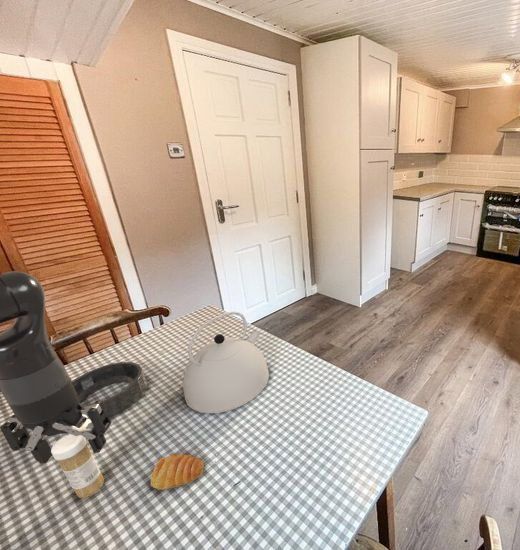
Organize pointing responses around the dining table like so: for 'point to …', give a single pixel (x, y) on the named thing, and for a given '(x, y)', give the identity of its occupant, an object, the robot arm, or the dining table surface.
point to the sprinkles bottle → (78, 465)
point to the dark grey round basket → (110, 376)
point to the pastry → (176, 471)
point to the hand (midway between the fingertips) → (74, 453)
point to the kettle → (224, 372)
